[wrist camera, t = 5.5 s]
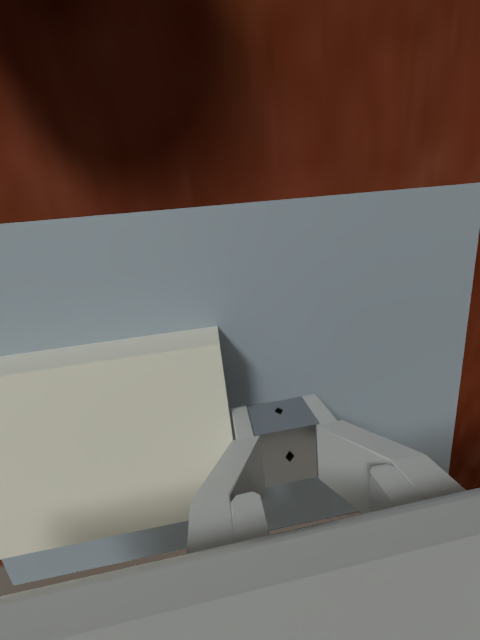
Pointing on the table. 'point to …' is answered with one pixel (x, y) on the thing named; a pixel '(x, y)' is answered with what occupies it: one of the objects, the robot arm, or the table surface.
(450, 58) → the table surface
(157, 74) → the table surface
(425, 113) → the table surface
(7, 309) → the plate
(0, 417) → the cream flat block
